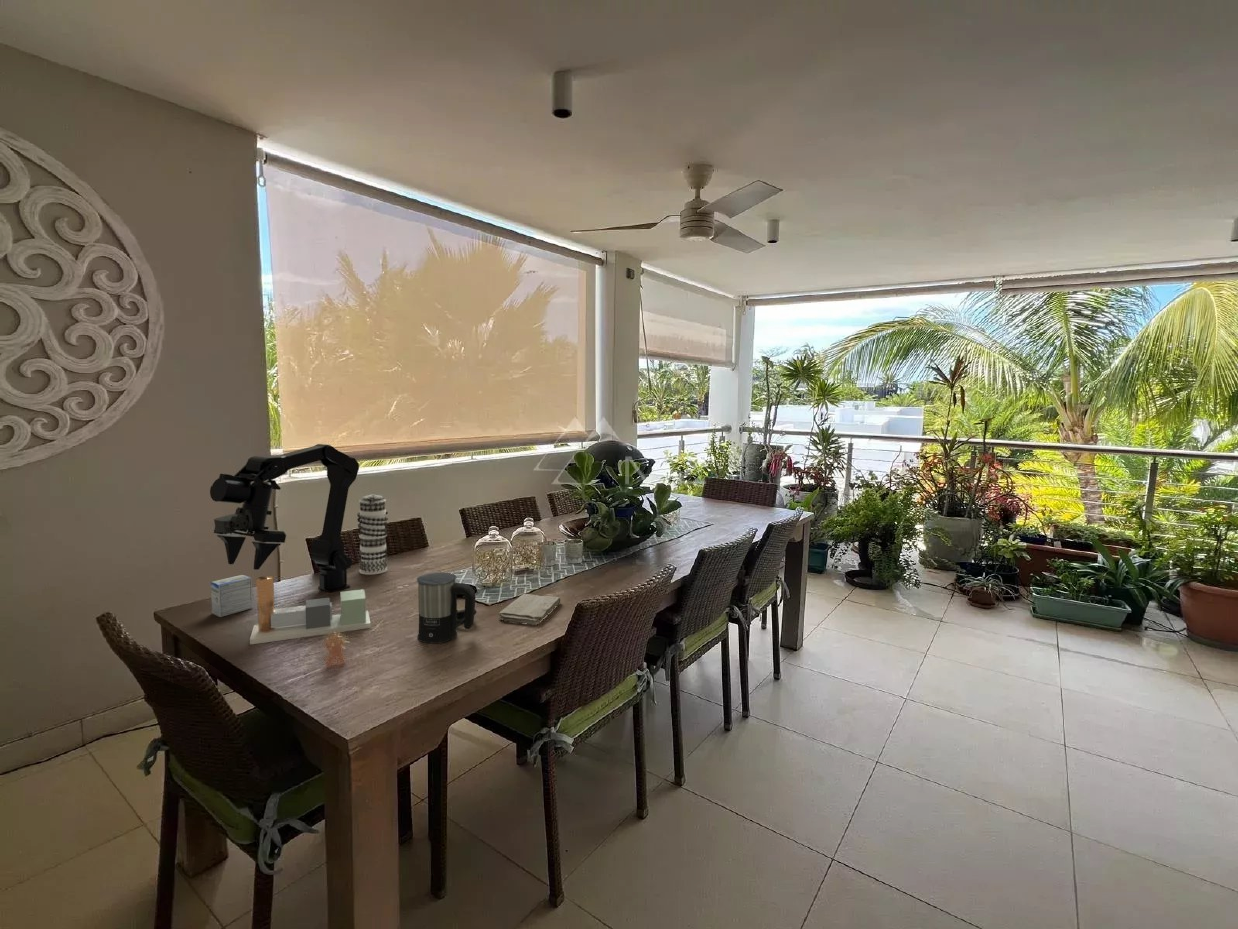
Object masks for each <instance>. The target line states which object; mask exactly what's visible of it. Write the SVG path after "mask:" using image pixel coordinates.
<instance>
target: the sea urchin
mask: <svg viewBox="0 0 1238 929" xmlns="http://www.w3.org/2000/svg"><path fill="white" fill-rule="evenodd" d="M351 631H352V630H351ZM351 631H349V632H350V633H351ZM336 632H337V631H336ZM336 632H335V633H334V632H332V633H330V634H327V633H326V634H325V635H326V638H325V641H324V639H322V640H319V645H320V644H321V645H323V648H324V655H323V656H322V657H321V660H322V661H323V666H324V667H326V668H329V667H330V668H333V666H335V668H339V669H340V668H341V666H343V664H347V662H348V663H349V660H347V657H348V655H346V653H345V647H346V644H347V643H349V641H347V640H354V639H355V638H353V637H352V635H347V634H348V633H345V635H344V633H343V632H337V633H336ZM346 635H347V636H346ZM346 637H347V638H346ZM349 637H352V638H349ZM316 638H317V639H318V638H320V637H316ZM320 642H321V643H320ZM315 643H317V641H314V644H315ZM354 644H356V643H354ZM353 647H356V646H354V645H353ZM316 652H319V649H318V650H316ZM326 653H327V654H326ZM318 659H320V657H319V658H317V660H318Z"/></svg>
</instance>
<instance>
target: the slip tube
mask: <svg viewBox="0 0 1238 929" xmlns="http://www.w3.org/2000/svg"><path fill="white" fill-rule="evenodd" d="M255 581H256V595H257V596H256V600H257V603H256V604H257V606H256V607H257V625H258V630H259V631H270V630H273V629H274V628H276V627H284V626H292V625H300V624H306V605H298V606H288V607H281V608H275V586H274V584H275V582H274V576H271V575H265V576H264V575H263V576H260V577H258V578H256V580H255ZM332 615H333V602H332V601H330V620H332Z"/></svg>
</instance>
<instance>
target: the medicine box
mask: <svg viewBox="0 0 1238 929" xmlns="http://www.w3.org/2000/svg"><path fill="white" fill-rule="evenodd" d="M252 582H253V580H252V577H250V576H248V575H245V574H244V575H243V574H239V575H234V576H232V577H231V576H230V577H227V578H222V579H218V580H213V581H211V582H210V590H211V591H210V593H211V594H210V595H211V596H210V597H211V598H210V599H211V612H212V614H213V615H214V616H216V617H219V618H222V617H225V616H229V615H233V614H237V613H239V612H243V611H247V610H251V609H253V594H252V593H253V587H252V586H253V585H252Z"/></svg>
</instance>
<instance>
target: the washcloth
mask: <svg viewBox="0 0 1238 929" xmlns="http://www.w3.org/2000/svg"><path fill="white" fill-rule="evenodd" d="M558 604H559V605H560V604H561V597H559V596H558V597H557V596H550V595H548V596H546V595H543V596H542V595H537V594H530V593H522V595H519V597H517V598H516V599H515V600H513V601H511V602H510V604H508V605H507V606H506V607H505V608H503V609H502V610H500V612H499V613H498V615H499V619H498V620H499V621H503V620H504V621H503V622H506V621H509V622H508V623H511V622H514V623H513V624H519V623H527V624H533V625H532V626H537V624H538V625H540V624H541V623H540V621H541V620H542V619H543V618H544V617H545V616H546V615H548V613H550V612H551V611H552V609H554V608H555V606H558ZM558 607H559V606H558ZM502 619H503V620H502ZM539 623H540V624H539Z"/></svg>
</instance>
